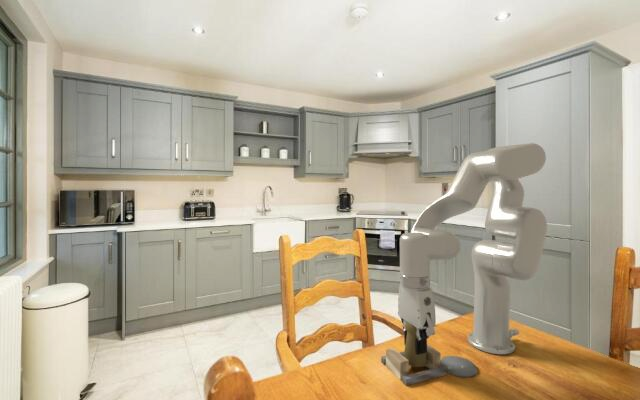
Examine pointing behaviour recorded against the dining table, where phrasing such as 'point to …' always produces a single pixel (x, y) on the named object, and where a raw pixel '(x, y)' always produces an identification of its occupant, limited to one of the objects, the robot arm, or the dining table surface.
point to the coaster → (459, 366)
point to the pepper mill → (413, 347)
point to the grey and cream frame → (400, 365)
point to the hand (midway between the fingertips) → (415, 348)
